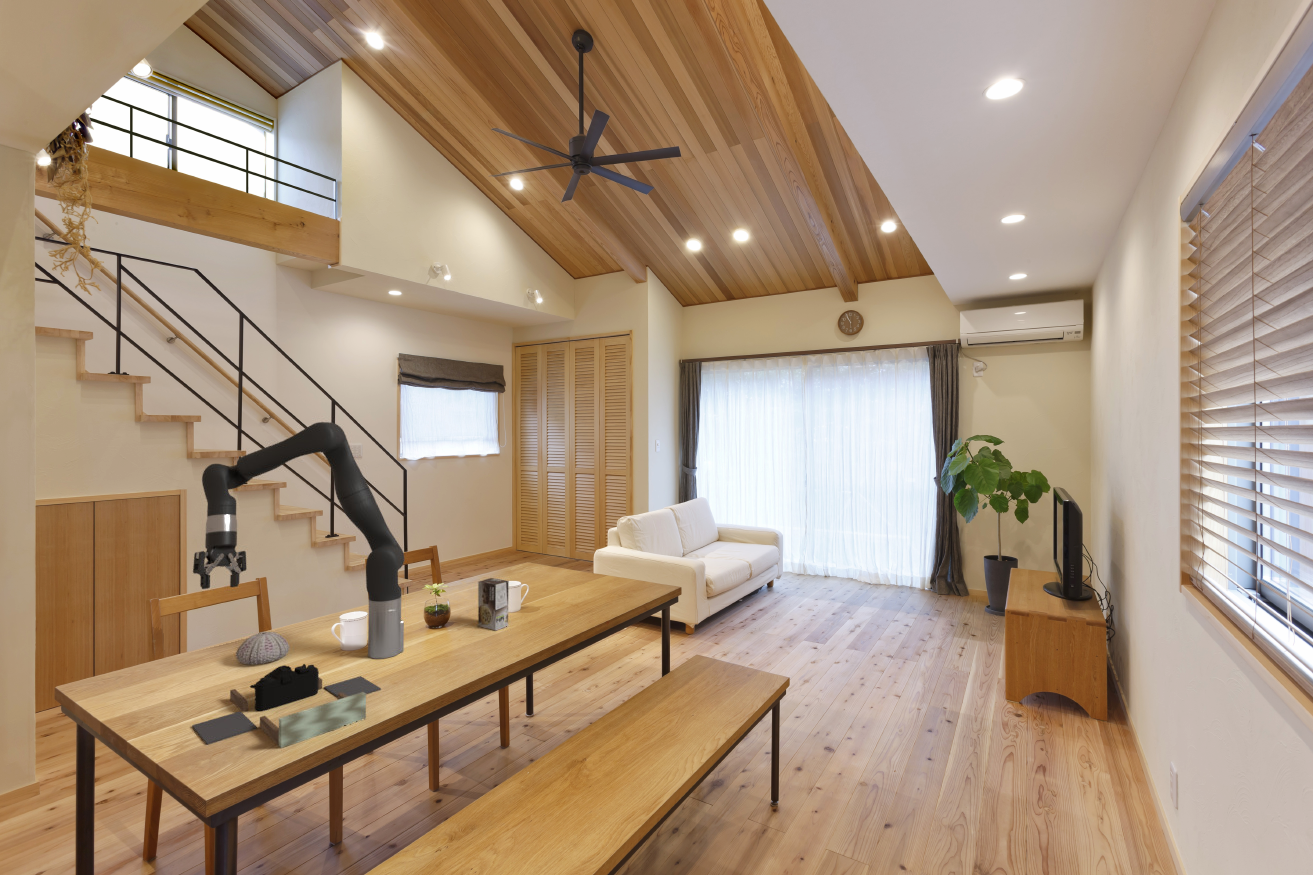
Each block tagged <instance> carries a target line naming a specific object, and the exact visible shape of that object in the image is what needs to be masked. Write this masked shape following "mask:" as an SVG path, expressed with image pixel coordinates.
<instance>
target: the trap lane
mask: <svg viewBox="0 0 1313 875" xmlns="http://www.w3.org/2000/svg"><path fill="white" fill-rule="evenodd" d="M318 687H319V688H318V691H320V690H322V689H323V679H322V678H321V677H319V682H318ZM229 691H230V692H229V696H230V697H229V700H230V701H231V702H232V703H233V704H234V706H236V707H237V708H238V709H239V710H240V711H241V712H242V713H245V712H248V711H249V708H248V707H249V700H248V699H247V698H246V697H245V696H244V695H242V694H241V693H240V692H239V691H238V690H236V688H234V689H233V688H232V689H230V690H229ZM336 698H337V699H336V700H333V701H330V702H326V703H322V704H320V705H317V706H314V707H311V708H307V709H305V710H300V711H298V712H295V713H291V714H288V715H285V716H282V717H279V718H278V726H277V725H276V724H275V723H274V722H273V721H272V720H270V719H269V718H268V717H267V716H266V715H262V716H260V717H259V729H260V730H261V731H262V732H263V733H264V734H266V735H267V737H268V738H270V739H271V740H272V741H273V742H274V743H275V744H276V745H277V746H278V747H279V748H280V749H283V748H285V747H288V746H292V745H294V744H297V743H300V742H303V741H306V740H308V739H312V738H314V737H317V736H320V735H323V734H326V733H329V732H331V731H334V730H337V729H341V728H343V727H342V726H344V725H346V726H349V725H351V723H352V724H354V723H353V722H355V723H357V722H356V721H358V722H360V721H359V720H361V721H363V720H362V719H364V720H366V719H365V718H367V716H366V715H367V705H366V704H367V694H366V693H364V692H361V693H358V694H355V695H352V696H346V695H345V694H343V693H342V692H341V693H337V697H336ZM348 724H349V725H348ZM340 727H341V728H340ZM344 727H345V726H344Z"/></svg>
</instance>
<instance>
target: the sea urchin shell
mask: <svg viewBox="0 0 1313 875" xmlns="http://www.w3.org/2000/svg"><path fill="white" fill-rule="evenodd" d="M289 651H290V644H289V642H288V641H287V638H285V637H284V636H282V635H280V633H277V632H274V631H271V632H270V631H261V632H258V633H256V634H253V635H250V636H249V637H248V638H246V639H245V640H244V641H243V642H242V643H241V644H240V646H239V647H238V649H237V650H236V653H235V657H236V660H238V663H240V664H244V665H253V666H254V665H259V664H261V665H264V664H267V663H271V662H275V661H278V660H281V659H282V658H284V657H286V656H287V654H288V653H289Z"/></svg>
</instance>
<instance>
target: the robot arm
mask: <svg viewBox="0 0 1313 875" xmlns="http://www.w3.org/2000/svg"><path fill="white" fill-rule="evenodd" d="M315 453H322V454H323V455H324V457H325V458H326V460H327V462H328V464H329V466H330V469H331V471H332V475H333V485H334V492H335V494H336V497H337V500H338V502H339V504H340V506H341V508H342V510H343V513H344V514H345V516H346V517H347V518H348V519H349V521H350V522H352V524H353V525H354V526H355V527H356V528H357V529H358V530H359V531H360V532H361V533H362V534H363V536H364V537H365V539H366V541H367V544H368V545H369V548H370V550H371V552H370V553H369V554H368V556H367V557H366V562H365V563H366V564H365V583H366V591H367V594H368V629H367V630H368V632H367V636H368V637H367V657H369V658H371V659H388V658H392V657H396V656H397V655H399V654H401V653H403V652H404V650H405V649H404V648H405V647H404V640H405V636H404V635H405V634H404V633H405V632H404V631H405V629H404V628H405V622H404V620H403V619H402V588H401V587H402V586H400V585H399V570H400V569H401V568H403V566H404V563H405V554H404V551H403V548H402V547H401V546H400V544H399V542H398V541H397V539H396V538H395V537H394V534H393V533H392V532H391V530H390V528H389V526H388V525H387V523H386V520H385V518H384V516H383V514H382V512H381V510H380V507H379V506H378V504H377V501H376V498H375V496H374V494H373V492H372V490H371V489H370V485H368V483H367V481H366V479H365V476H364V475H363V472H362V471H361V469H360V467H359V466H358V464H357V461H356V459H355V457H354V455H353V453H352V450H351V446H350V445H349V441H348V438H347V436H346V434H345V431H344V430H343V428H342V427H341V426H339V424H337V423H334V422H329V421H328V422H327V421H325V422H324V421H321V422H315V423H313V424H311V425H309V426H308V427H306V428H304V429H302V430H300V431H299V432H298V433H295V434H294V435H292V436H290V437H287V438H286V439H284V440H282V441H280V442H277V443H274V444H272V445H269V446H267V447H264V448H260V449H257V450H255V451H253V452H251V453H248V454H246V455H243V456H242V457H239V458H238V460H237V461H236V464H235V465H231V466H230V465H225V464H222V463H212V464H209V465H208V466H206V467H205V469H204V470H203V472H202V476H201V483H202V487H203V491H204V496H205V499H206V502H207V509H206V510H207V511H206V512H207V514H206V516H207V518H206V523H205V541H204V542H205V543H204V546H205V549H206V551H204V550H202V551H197V552H194V556H193V557H194V558H193V568H192V569H193V570H192V573H193V574H194V575H195V574H196V575H199V576H200V580H199V582H200V583H199V584H200V585H199V586H200V588H201V589H202V590H206V589H210V587H211V572H212V571H213V570H214V569H215V568H217V567H220V568H221V567H222V568H223V567H224V568H225V569H226V570H228V571H229V572H230V576H229V577H230V578H229V580H230V581H229V587H230V588H236V587H239V585H240V574H241V573H242V572H245V571H247V552H246V550H242V551H241V550H240V551H236V547H237V545H238V520H237V499H236V497H234V496H232V495H231V494H230V493H229V491H230V490H233V489H237V488H240V487H241V486H243V485H245V484H247V483H248V482H250V481H251V480H252V479H253V478H255V477H258V476H261V475H263V474H266V473H269V472H271V471H273V470H275V469H278V468H280V467H281V466H283V465H284V464H286V463H288V462H290V461H292V460H295V459H297V458H299V457H303V456H307V455H310V454H311V455H312V454H315ZM205 559H206V560H205Z"/></svg>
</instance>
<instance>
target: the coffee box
mask: <svg viewBox="0 0 1313 875" xmlns="http://www.w3.org/2000/svg"><path fill="white" fill-rule="evenodd" d="M509 583H510V582H509V580H506V579H500V578H493V577H489V578H485V579H483V580H479V581H478V582H477V584H478V585H477V586H478V588H477V589H478V591H477V593H478V594H477V598H478V599H477V600H478V602H477V604H478V610H477V611H478V613H477V614H478V616H477V617H478V619H477V620H478V621H477V622H478V625H477V626H478V627H480V628H485V629H489V630H493V631H498V630H501V629H504V628H507V627H509V585H510V584H509ZM506 626H507V627H506Z"/></svg>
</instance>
